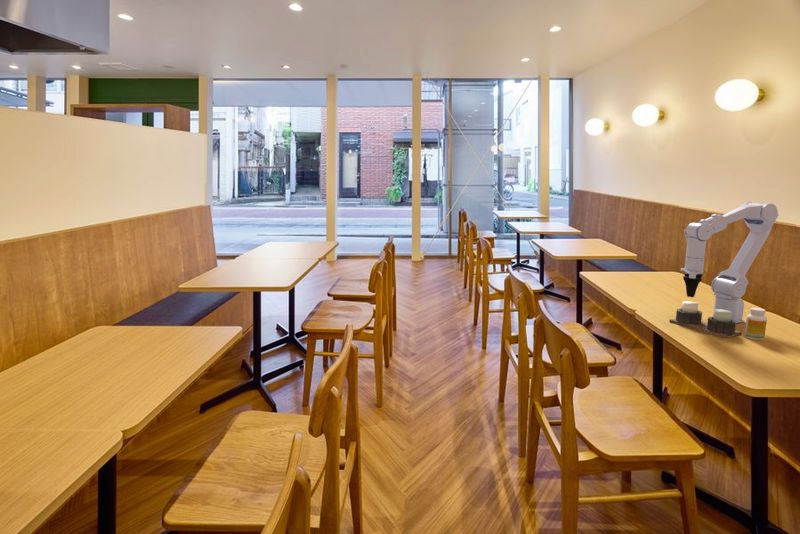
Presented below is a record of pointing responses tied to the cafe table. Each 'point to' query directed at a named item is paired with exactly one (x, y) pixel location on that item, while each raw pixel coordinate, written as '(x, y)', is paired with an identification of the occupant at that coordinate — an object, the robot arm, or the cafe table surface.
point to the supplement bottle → (756, 324)
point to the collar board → (705, 324)
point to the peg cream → (689, 307)
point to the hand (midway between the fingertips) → (690, 295)
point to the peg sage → (722, 315)
